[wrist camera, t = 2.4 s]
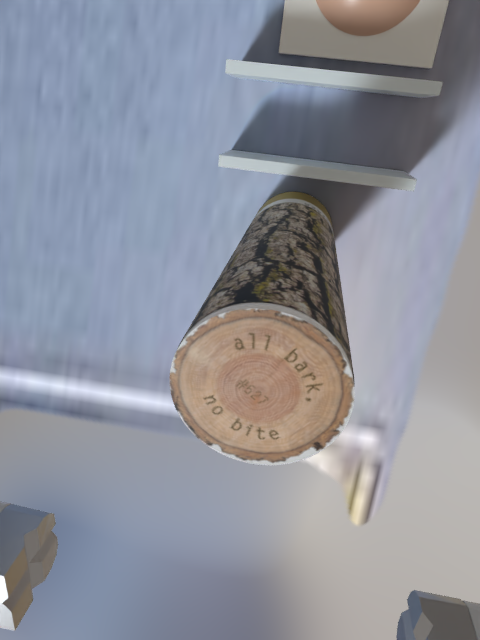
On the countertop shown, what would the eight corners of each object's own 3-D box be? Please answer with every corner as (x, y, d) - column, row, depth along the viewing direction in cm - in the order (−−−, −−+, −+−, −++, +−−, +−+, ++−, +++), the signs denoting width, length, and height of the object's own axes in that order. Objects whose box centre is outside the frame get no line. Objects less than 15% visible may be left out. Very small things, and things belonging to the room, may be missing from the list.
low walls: (238, 66, 34) (226, 59, 29) (425, 85, 32) (443, 81, 28) (230, 159, 37) (218, 166, 32) (401, 181, 35) (413, 191, 31)
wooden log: (292, 172, 36) (253, 266, 14) (349, 228, 38) (397, 398, 15) (238, 231, 39) (134, 388, 17) (293, 282, 40) (264, 492, 18)
